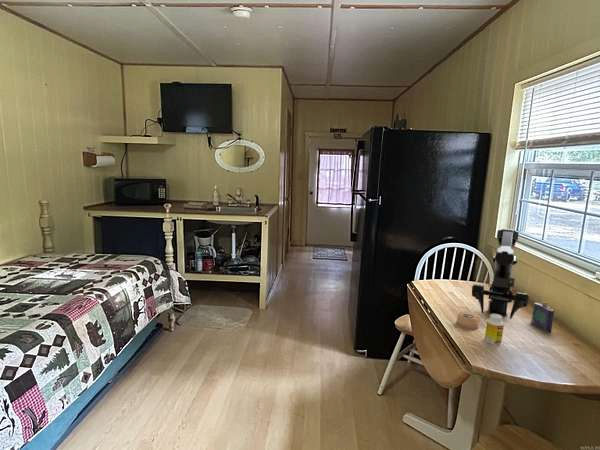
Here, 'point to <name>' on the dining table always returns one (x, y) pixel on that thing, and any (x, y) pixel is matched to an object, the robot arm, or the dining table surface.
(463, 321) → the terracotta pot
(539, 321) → the flask
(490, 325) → the supplement bottle
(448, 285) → the dining table surface
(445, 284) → the dining table surface
